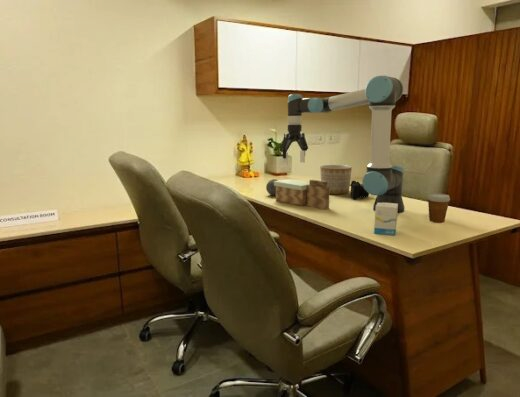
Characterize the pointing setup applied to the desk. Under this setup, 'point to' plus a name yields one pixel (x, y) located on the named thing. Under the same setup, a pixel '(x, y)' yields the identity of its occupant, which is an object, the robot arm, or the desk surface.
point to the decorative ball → (271, 187)
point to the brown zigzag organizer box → (304, 196)
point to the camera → (357, 191)
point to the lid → (292, 184)
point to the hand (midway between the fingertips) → (294, 163)
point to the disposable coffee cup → (438, 207)
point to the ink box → (385, 218)
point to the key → (318, 183)
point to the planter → (336, 178)
